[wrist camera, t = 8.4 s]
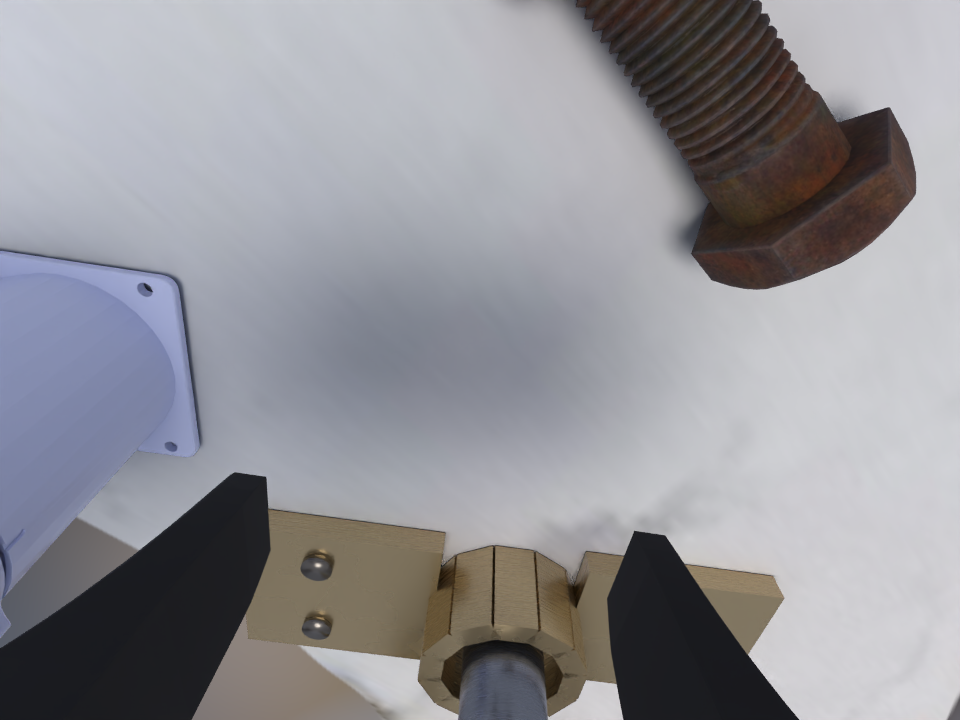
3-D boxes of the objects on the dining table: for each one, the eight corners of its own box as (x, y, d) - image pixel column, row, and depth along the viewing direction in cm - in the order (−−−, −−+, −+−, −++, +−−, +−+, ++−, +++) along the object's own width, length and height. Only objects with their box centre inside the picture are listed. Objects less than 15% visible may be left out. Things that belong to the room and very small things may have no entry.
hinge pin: (462, 611, 28) (449, 796, 21) (471, 564, 26) (461, 749, 20) (531, 620, 28) (541, 807, 22) (545, 573, 27) (561, 760, 20)
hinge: (257, 617, 29) (224, 695, 26) (248, 506, 25) (207, 581, 22) (713, 673, 30) (740, 756, 27) (773, 576, 26) (814, 657, 23)
